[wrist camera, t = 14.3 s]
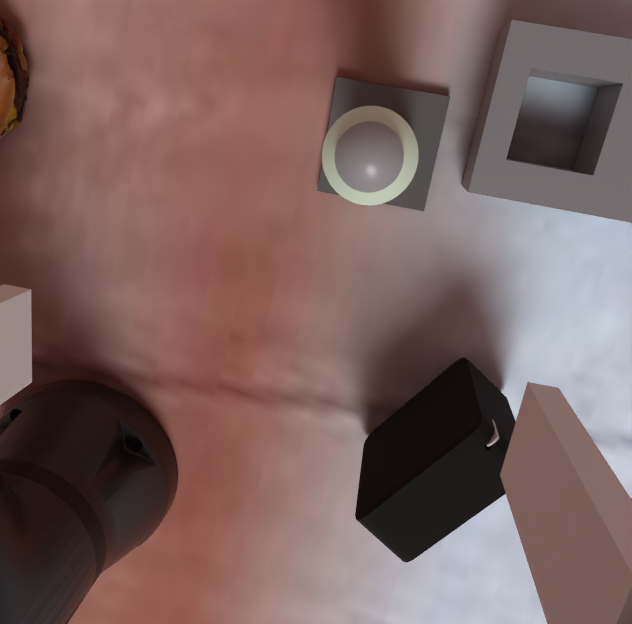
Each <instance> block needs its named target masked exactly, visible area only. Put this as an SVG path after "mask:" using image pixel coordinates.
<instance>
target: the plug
mask: <svg viewBox="0 0 632 624" xmlns="http://www.w3.org/2000/svg"><path fill="white" fill-rule="evenodd" d="M322 164H323V169H324V172H325V175H326V177H327V180H328V181H329V183H330V185H331V186H332V187H333V189H334V190H335V191H336V192H337V193H338V194H339V195H341V196H342V197H343V198H345V199H347V200H349V201H351V202H353V203H356V204H360V205H378V204H382V203H385V202H388V201H390V200H392V199H394V198H395V197H397V196H398V195H399V194H401V193H402V192H403V191H404V190H405V189H406V188H407V186H408V185H409V184H410V182H411V180H412V179H413V177H414V174H415V172H416V168H417V165H418V144H417V140H416V137H415V135H414V132H413V131H412V129H411V127H410V126H409V124H408V123H407V122H406V121H405V120H404V119H403V118H402V117H401V116H400V115H398V114H397V113H395V112H394V111H392V110H390V109H387V108H384V107H380V106H363V107H358V108H355V109H353V110H351V111H349V112H347V113H345V114H344V115H342V116H341V117H340V118H339V119H338V120H337V121H336V122H335V123H334V124H333V125H332V127H331V128H330V130H329V131H328V133H327V135H326V138H325V141H324V144H323V149H322Z"/></svg>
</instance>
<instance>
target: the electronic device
mask: <svg viewBox="0 0 632 624" xmlns="http://www.w3.org/2000/svg"><path fill="white" fill-rule="evenodd" d="M515 423H516V422H515V419H514V416H513V414H512V411H511V408H510V406H509V403H508V400H507V398H506V397H505V396H504V395H503V394H502V393H501V392H500V391H499V390H498V389H497V388H496V387H495V386H494V385H493V384H492V383H491V382H490V381H489V380H488V379H487V378H486V377H485V376H484V375H483V374H482V373H481V372H480V371H479V370H478V369H477V368H476V367H475V366H473V365H472V364H471V363H470V362H469V361H468V360H467V359H466V358H461V359H459V360H458V361H456V362H455V363H454V364H453V365H451V366H450V367H449V368H448V369H447V370H445V371H444V372H443V373H442V374H441V375H439V376H438V377H437V378H436V379H435V380H433V381H432V382H431V383H430V384H429V385H428V386H426V387H425V388H424V389H423V390H422V391H420V392H419V393H418V394H417V395H416V396H414V397H413V398H412V399H411V400H410V401H408V402H407V403H406V404H405V405H404V406H402V407H401V408H400V409H399V410H398V411H397V412H395V413H394V414H393V415H392V416H391V417H389V418H388V419H387V420H386V421H385V422H383V423H382V424H381V425H380V426H379V427H377V428H376V429H375V430H374V431H373V432H372V433H371V434H370V435H369V436H368V438H367V439H366V440H365V443H364V448H363V456H362V465H361V473H360V481H359V489H358V497H357V506H356V514H355V516H356V519H357V520H358V521H359V522H360V523H361V524H362V525H363V526H364V527H365V528H367V529H368V530H369V531H370V532H371V533H372V534H373V535H374V536H375V537H377V538H378V539H379V540H380V541H381V542H382V543H383V544H384V545H385V546H387V547H388V548H389V549H390V550H391V551H392V552H393V553H394V554H396V555H397V556H398V557H399V558H400V559H401V560H402V561H404V562H409V561H411V560H413V559H415V558H416V557H417V556H419V555H420V554H422V553H423V552H424V551H426V550H427V549H429V548H430V547H431V546H433V545H434V544H436V543H437V542H438V541H440V540H441V539H443V538H444V537H445V536H447V535H448V534H450V533H451V532H452V531H454V530H455V529H457V528H458V527H459V526H461V525H462V524H464V523H465V522H466V521H468V520H469V519H471V518H472V517H473V516H475V515H476V514H478V513H479V512H480V511H482V510H483V509H485V508H486V507H487V506H489V505H490V504H492V503H493V502H494V501H496V500H497V499H499V498H500V497H501V496H503V495H504V494H506V492H505V489H504V486H503V483H502V480H501V477H500V473H501V470H502V467H503V463H504V460H505V457H506V453H507V450H508V447H509V443H510V440H511V437H512V433H513V430H514V427H515Z"/></svg>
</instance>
